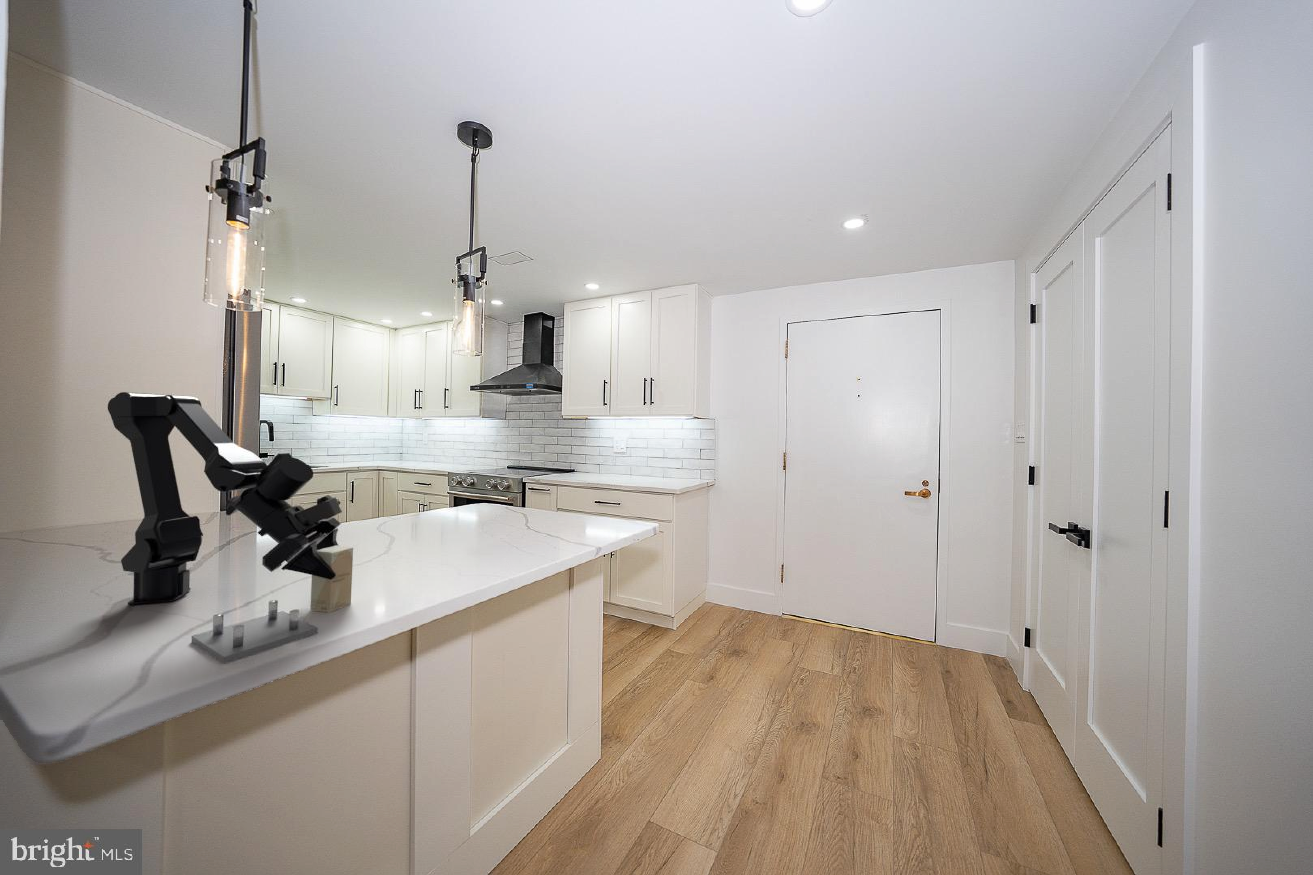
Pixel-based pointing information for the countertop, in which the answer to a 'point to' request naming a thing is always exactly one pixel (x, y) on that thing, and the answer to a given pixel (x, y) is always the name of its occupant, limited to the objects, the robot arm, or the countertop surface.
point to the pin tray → (253, 634)
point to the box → (333, 580)
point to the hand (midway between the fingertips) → (340, 571)
